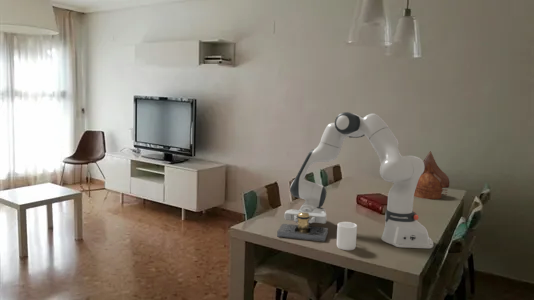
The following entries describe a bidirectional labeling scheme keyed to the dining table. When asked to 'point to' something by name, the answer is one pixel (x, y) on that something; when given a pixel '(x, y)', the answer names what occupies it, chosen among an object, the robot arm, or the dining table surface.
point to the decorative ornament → (431, 180)
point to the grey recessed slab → (292, 232)
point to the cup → (346, 235)
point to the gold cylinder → (303, 222)
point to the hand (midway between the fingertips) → (303, 221)
